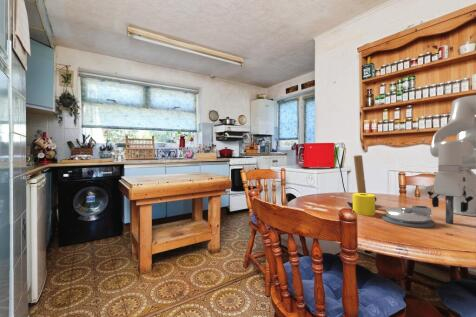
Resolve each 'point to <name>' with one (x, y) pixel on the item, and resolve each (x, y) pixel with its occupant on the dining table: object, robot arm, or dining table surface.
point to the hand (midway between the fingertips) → (449, 209)
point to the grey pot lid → (410, 214)
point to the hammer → (359, 176)
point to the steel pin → (449, 209)
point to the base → (409, 223)
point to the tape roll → (364, 204)
